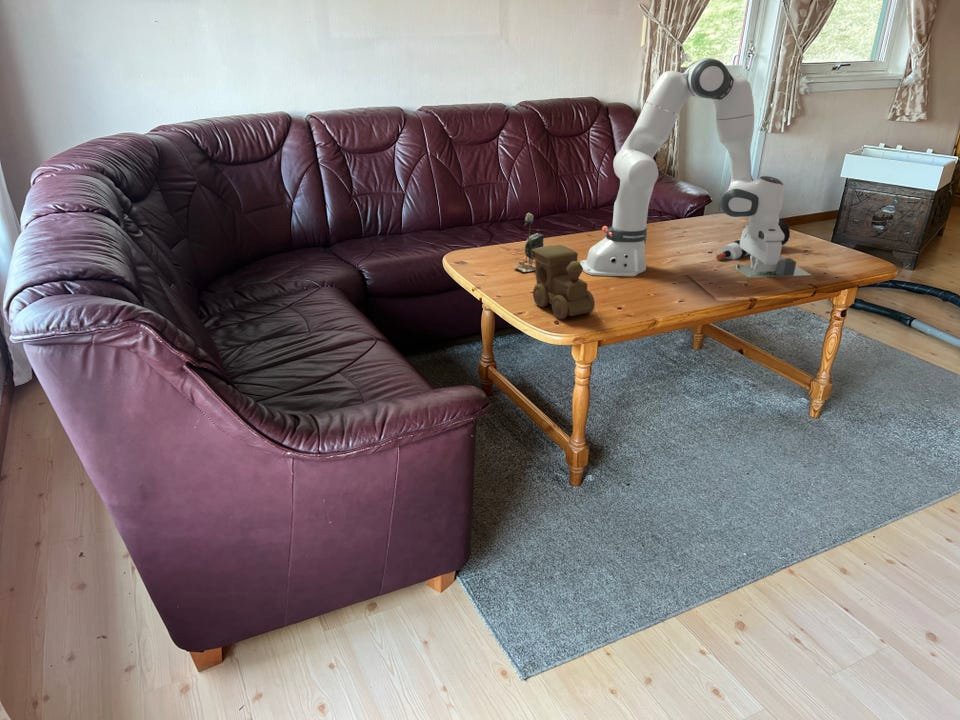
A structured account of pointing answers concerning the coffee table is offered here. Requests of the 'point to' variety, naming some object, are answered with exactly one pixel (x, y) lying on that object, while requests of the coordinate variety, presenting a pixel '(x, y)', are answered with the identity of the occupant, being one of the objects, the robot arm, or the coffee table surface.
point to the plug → (788, 267)
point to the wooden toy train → (560, 282)
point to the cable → (736, 252)
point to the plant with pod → (530, 247)
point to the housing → (779, 271)
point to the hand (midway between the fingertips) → (754, 269)
